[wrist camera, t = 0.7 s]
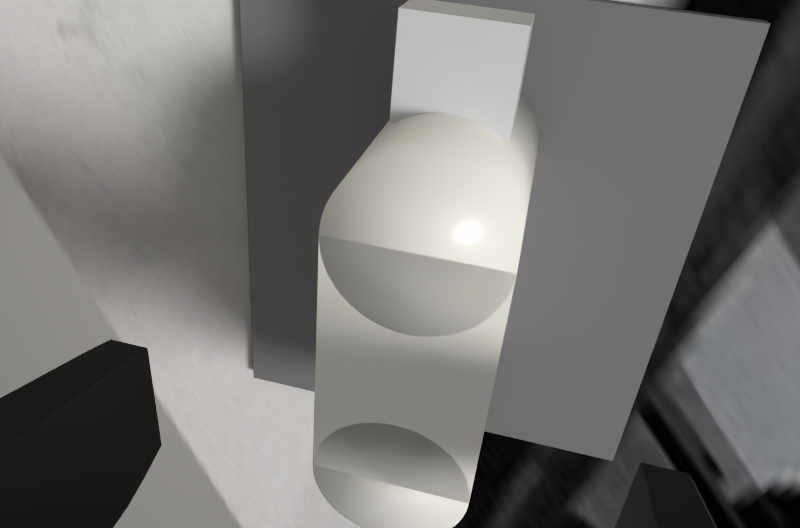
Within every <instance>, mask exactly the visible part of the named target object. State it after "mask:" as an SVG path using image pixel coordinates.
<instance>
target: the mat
mask: <svg viewBox="0 0 800 528" xmlns="http://www.w3.org/2000/svg"><path fill="white" fill-rule="evenodd" d="M407 1H408V0H240V22H241V48H242V75H243V102H244V129H245V155H246V182H247V209H248V235H249V262H250V289H251V315H252V342H253V369H254V378H259V379H263V380H267V381H272V382H276V383H280V384H284V385H289V386H293V387H297V388H302V389H306V390H310V391H314V392H315V365H316V326H317V286H318V247H319V228H320V221H321V217H322V213H323V211H324V208H325V206H326V203H327V201H328V200H329V198H330V196H331V195H332V193H333V192H334V190H335V189H336V188H337V187H338V185H339V184H340V183H341V181H342V180H343V179H344V178H345V176H346V175H347V174H348V172H349V171H350V170H351V169H352V167H353V166H354V165H355V164H356V162H357V161H358V160H359V158H360V157H361V156H362V155H363V153H364V152H365V151H366V149H367V148H368V147H369V146H370V144H371V143H372V142H373V140H374V139H375V138H376V137H377V135H378V134H379V133H380V131H381V130H382V129H383V128H384V126H385V125H386V124H387V123H388V121H389V120H390V108H391V96H392V83H393V71H394V58H395V46H396V33H397V21H398V9H399V7H400V6H402V5H403V4H404V3H406V2H407ZM437 1H444V2H452V3H459V4H467V5H474V6H481V7H489V8H496V9H504V10H511V11H519V12H526V13H534V14H535V16H534V21H533V27H532V32H531V38H530V43H529V49H528V54H527V60H526V65H525V71H524V76H523V82H522V87H521V93H522V94H523V95H524V96H525V98H526V99H527V101H528V102H529V104H530V106H531V108H532V110H533V112H534V115H535V118H536V121H537V126H538V133H539V143H538V151H537V157H536V163H535V169H534V175H533V181H532V187H531V193H530V199H529V205H528V211H527V217H526V223H525V229H524V235H523V241H522V247H521V253H520V259H519V265H518V271H517V276H516V281H515V286H514V291H513V296H512V300H511V305H510V310H509V315H508V319H507V324H506V329H505V334H504V338H503V343H502V348H501V353H500V357H499V362H498V367H497V372H496V376H495V381H494V386H493V391H492V396H491V400H490V405H489V410H488V415H487V419H486V424H485V429H484V431H486V432H491V433H495V434H499V435H503V436H508V437H512V438H516V439H521V440H525V441H529V442H534V443H538V444H542V445H546V446H551V447H555V448H559V449H564V450H568V451H572V452H576V453H581V454H585V455H589V456H594V457H598V458H602V459H607V460H611V461H613V459H614V456H615V453H616V450H617V448H618V445H619V442H620V439H621V437H622V434H623V431H624V428H625V425H626V423H627V420H628V417H629V414H630V412H631V409H632V406H633V403H634V401H635V398H636V395H637V392H638V389H639V387H640V384H641V381H642V378H643V376H644V373H645V370H646V367H647V365H648V362H649V359H650V356H651V353H652V351H653V348H654V345H655V342H656V340H657V337H658V334H659V331H660V329H661V326H662V323H663V320H664V317H665V315H666V312H667V309H668V306H669V304H670V301H671V298H672V295H673V293H674V290H675V287H676V284H677V281H678V279H679V276H680V273H681V270H682V268H683V265H684V262H685V259H686V257H687V254H688V251H689V248H690V245H691V243H692V240H693V237H694V234H695V232H696V229H697V226H698V223H699V221H700V218H701V215H702V212H703V209H704V207H705V204H706V201H707V198H708V196H709V193H710V190H711V187H712V185H713V182H714V179H715V176H716V173H717V171H718V168H719V165H720V162H721V160H722V157H723V154H724V151H725V148H726V146H727V143H728V140H729V137H730V135H731V132H732V129H733V126H734V124H735V121H736V118H737V115H738V112H739V110H740V107H741V104H742V101H743V99H744V96H745V93H746V90H747V88H748V85H749V82H750V79H751V76H752V74H753V71H754V68H755V65H756V63H757V60H758V57H759V54H760V52H761V49H762V46H763V43H764V40H765V38H766V35H767V32H768V29H769V27H770V23H769V22H767V21H765V20H757V19H749V18H741V17H734V16H726V15H718V14H710V13H703V12H695V11H687V10H679V9H672V8H664V7H656V6H648V5H641V4H633V3H625V2H617V1H610V0H437Z"/></svg>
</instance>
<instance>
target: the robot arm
mask: <svg viewBox="0 0 800 528" xmlns="http://www.w3.org/2000/svg"><path fill="white" fill-rule="evenodd" d="M160 447H161V439H160V432H159V425H158V419H157V412H156V404H155V397H154V391H153V384H152V377H151V370H150V363H149V356H148V350H147V348H144V347H140V346H136V345H132V344H127V343H123V342H119V341H114V340H109V341H107V342H105V343H103V344H101V345H99V346H97V347H95V348H93V349H91V350H89V351H87V352H85V353H83V354H81V355H79V356H78V357H76V358H74V359H72V360H70V361H69V362H66V363H64V364H63V365H61V366H59V367H57V368H56V369H53V370H52V371H50V372H48V373H46V374H44V375H42V376H41V377H39V378H37V379H35V380H33V381H32V382H29V383H28V384H26V385H24V386H22V387H20V388H18V389H17V390H15V391H13V392H11V393H9V394H7V395H5V396H3V397H2V398H0V528H113V527H114V525H115V524H116V523H117V521H118V520H119V518H120V517H121V515H122V514H123V513H124V511H125V510H126V508H127V507H128V505H129V503H130V502H131V500H132V498H133V496H134V495H135V493H136V491H137V489H138V488H139V486H140V484H141V482H142V481H143V479H144V477H145V475H146V473H147V471H148V470H149V468H150V466H151V464H152V462H153V460H154V458H155V456H156V454H157V453H158V451H159V449H160ZM615 528H717V527H716V525H715V523H714V521H713V519H712V517H711V515H710V513H709V511H708V509H707V507H706V505H705V503H704V501H703V499H702V497H701V495H700V493H699V491H698V489H697V487H696V485H695V483H694V481H693V480H692V478H691V477H690V475H689V474H688V473H684V472H680V471H675V470H671V469H667V468H662V467H658V466H654V465H649V464H645V463H640V466H639V468H638V471H637V473H636V476H635V478H634V481H633V483H632V486H631V488H630V491H629V493H628V496H627V499H626V501H625V504H624V506H623V509H622V511H621V514H620V516H619V519H618V521H617V524H616V526H615Z"/></svg>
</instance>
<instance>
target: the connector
mask: <svg viewBox="0 0 800 528" xmlns="http://www.w3.org/2000/svg"><path fill="white" fill-rule="evenodd" d="M534 16H535V14H534V13H526V12H519V11H511V10H504V9H496V8H489V7H481V6H474V5H467V4H459V3H452V2H444V1H437V0H408V1H407V2H406V3H404V4H403V5H402V6H400V7H399V9H398V21H397V33H396V46H395V58H394V71H393V83H392V96H391V108H390V120H389V121H388V123H387V124H386V125H385V126H384V128H383V129H382V130H381V131H380V133H379V134H378V135H377V137H376V138H375V139H374V140H373V142H372V143H371V144H370V146H369V147H368V148H367V149H366V151H365V152H364V153H363V155H362V156H361V157H360V158H359V160H358V161H357V162H356V164H355V165H354V166H353V167H352V169H351V170H350V171H349V172H348V174H347V175H346V176H345V178H344V179H343V180H342V181H341V183H340V184H339V185H338V187H337V188H336V189H335V190H334V192H333V193H332V195H331V196H330V198H329V200H328V201H327V203H326V206H325V208H324V211H323V213H322V217H321V221H320V228H319V247H318V286H317V326H316V365H315V404H314V444H313V472H314V476H315V480H316V483H317V485H318V487H319V489H320V491H321V493H322V494H323V496H324V497H325V498H326V500H327V501H328V502H329V503H330V504H331V505H332V506H333V507H334V508H335V509H336V510H337V511H338V512H339V513H340V514H342V515H343V516H344V517H346V518H347V519H349V520H350V521H352V522H353V523H355V524H357V525H359V526H361V527H363V528H452V527H454V526H455V525H456V524H457V523H458V522H459V521H460V520H461V519H462V518H463V516H464V514H465V513H466V511H467V508H468V505H469V500H470V496H471V491H472V486H473V481H474V477H475V472H476V467H477V462H478V457H479V453H480V448H481V443H482V438H483V434H484V429H485V424H486V419H487V415H488V410H489V405H490V400H491V396H492V391H493V386H494V381H495V376H496V372H497V367H498V362H499V357H500V353H501V348H502V343H503V338H504V334H505V329H506V324H507V319H508V315H509V310H510V305H511V300H512V296H513V291H514V286H515V281H516V276H517V271H518V265H519V259H520V253H521V247H522V241H523V235H524V229H525V223H526V217H527V211H528V205H529V199H530V193H531V187H532V181H533V175H534V169H535V163H536V157H537V151H538V143H539V133H538V126H537V121H536V118H535V115H534V112H533V110H532V108H531V106H530V104H529V102H528V101H527V99H526V98H525V96H524V95H523V94H522V93H521V87H522V82H523V76H524V71H525V65H526V60H527V54H528V49H529V43H530V38H531V32H532V27H533V21H534Z"/></svg>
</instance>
